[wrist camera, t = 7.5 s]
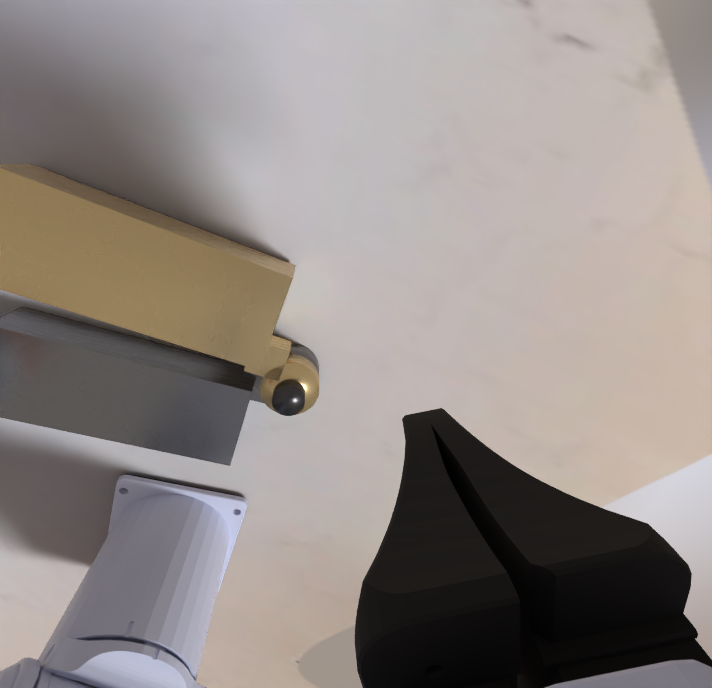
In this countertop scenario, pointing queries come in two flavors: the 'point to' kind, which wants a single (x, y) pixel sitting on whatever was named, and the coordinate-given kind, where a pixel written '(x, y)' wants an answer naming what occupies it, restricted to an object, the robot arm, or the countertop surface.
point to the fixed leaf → (129, 387)
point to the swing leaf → (146, 274)
